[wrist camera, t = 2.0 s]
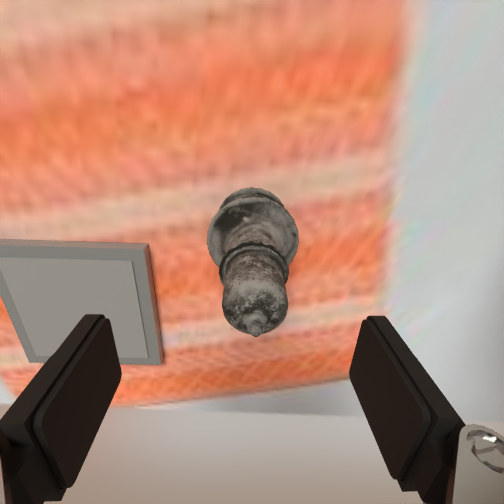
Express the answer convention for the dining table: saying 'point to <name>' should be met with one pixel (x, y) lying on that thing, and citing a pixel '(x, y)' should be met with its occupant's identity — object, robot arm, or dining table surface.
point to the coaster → (80, 295)
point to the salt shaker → (253, 258)
